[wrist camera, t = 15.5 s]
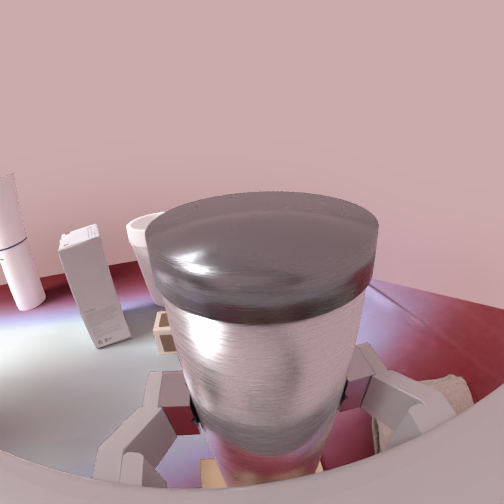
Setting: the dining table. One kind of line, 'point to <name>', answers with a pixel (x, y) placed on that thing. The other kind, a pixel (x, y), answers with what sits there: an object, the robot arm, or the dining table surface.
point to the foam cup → (144, 252)
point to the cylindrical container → (17, 250)
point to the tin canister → (264, 320)
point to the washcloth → (448, 386)
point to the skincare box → (93, 285)
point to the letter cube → (163, 334)
